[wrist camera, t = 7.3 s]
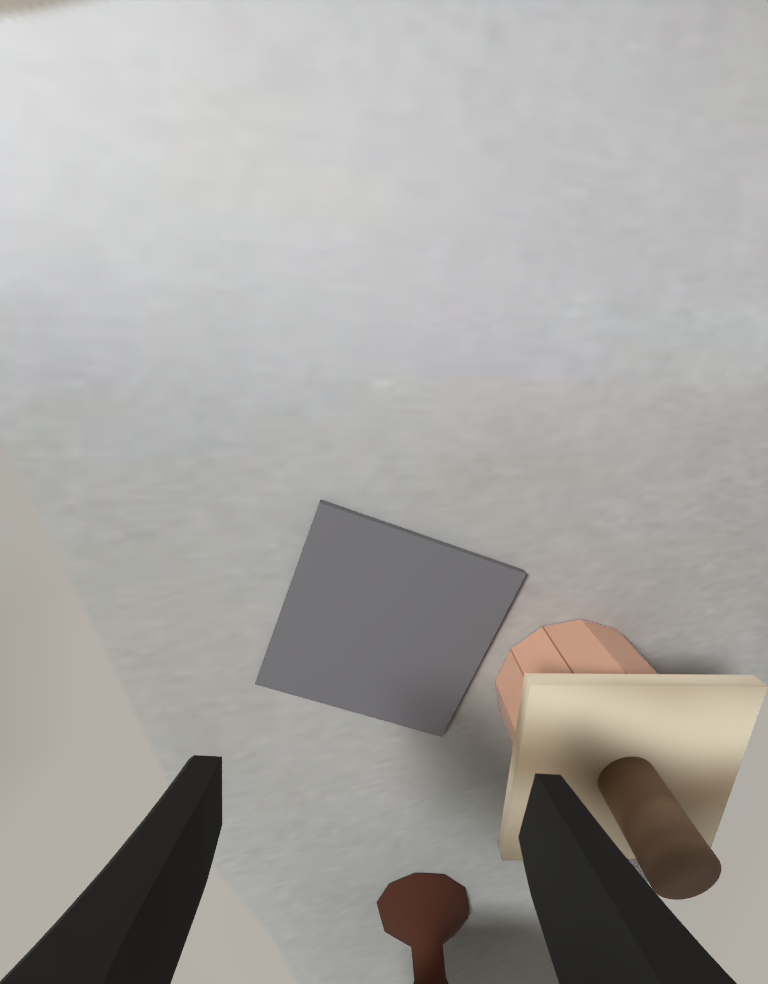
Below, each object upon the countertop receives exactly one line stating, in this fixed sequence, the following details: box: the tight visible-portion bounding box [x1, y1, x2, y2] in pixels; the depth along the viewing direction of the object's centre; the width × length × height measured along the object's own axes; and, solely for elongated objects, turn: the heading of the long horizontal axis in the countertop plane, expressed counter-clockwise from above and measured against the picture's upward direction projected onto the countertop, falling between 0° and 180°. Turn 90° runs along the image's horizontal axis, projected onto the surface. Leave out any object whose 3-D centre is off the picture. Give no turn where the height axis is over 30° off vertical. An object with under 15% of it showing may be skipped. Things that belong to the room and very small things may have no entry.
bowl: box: [495, 619, 658, 745], centre depth 19 cm, size 7×7×4 cm
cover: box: [498, 673, 768, 899], centre depth 15 cm, size 9×9×4 cm
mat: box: [255, 500, 526, 737], centre depth 20 cm, size 10×10×1 cm
